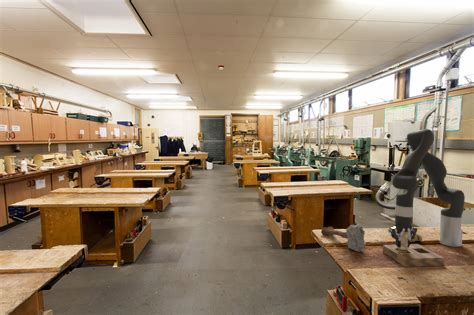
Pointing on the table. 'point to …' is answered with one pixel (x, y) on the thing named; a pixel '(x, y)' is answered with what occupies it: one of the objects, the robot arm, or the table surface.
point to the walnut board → (414, 256)
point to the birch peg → (403, 243)
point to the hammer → (349, 236)
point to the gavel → (417, 238)
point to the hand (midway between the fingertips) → (402, 246)
